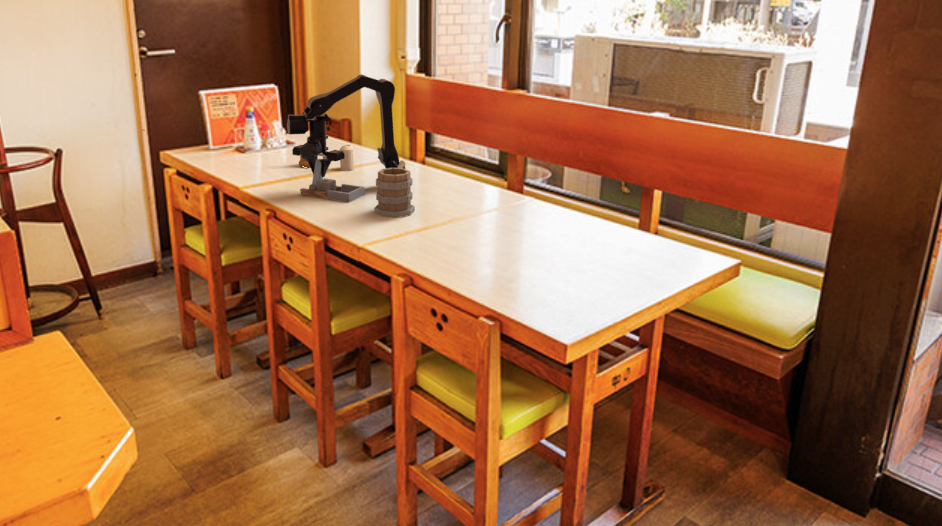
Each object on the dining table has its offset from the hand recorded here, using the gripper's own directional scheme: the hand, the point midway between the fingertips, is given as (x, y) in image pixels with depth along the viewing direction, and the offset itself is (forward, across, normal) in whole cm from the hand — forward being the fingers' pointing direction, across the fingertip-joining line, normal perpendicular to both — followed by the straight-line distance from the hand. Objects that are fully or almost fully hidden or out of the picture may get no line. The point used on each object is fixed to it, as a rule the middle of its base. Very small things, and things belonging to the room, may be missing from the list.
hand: (319, 176), depth 271 cm
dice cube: (+6, +3, 0) cm, 7 cm away
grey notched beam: (+6, -2, 0) cm, 6 cm away
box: (+6, +11, 0) cm, 13 cm away
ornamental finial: (+7, -27, +32) cm, 42 cm away
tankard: (+6, +34, -4) cm, 35 cm away
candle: (+6, -10, +35) cm, 37 cm away
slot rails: (+6, +1, 0) cm, 6 cm away
